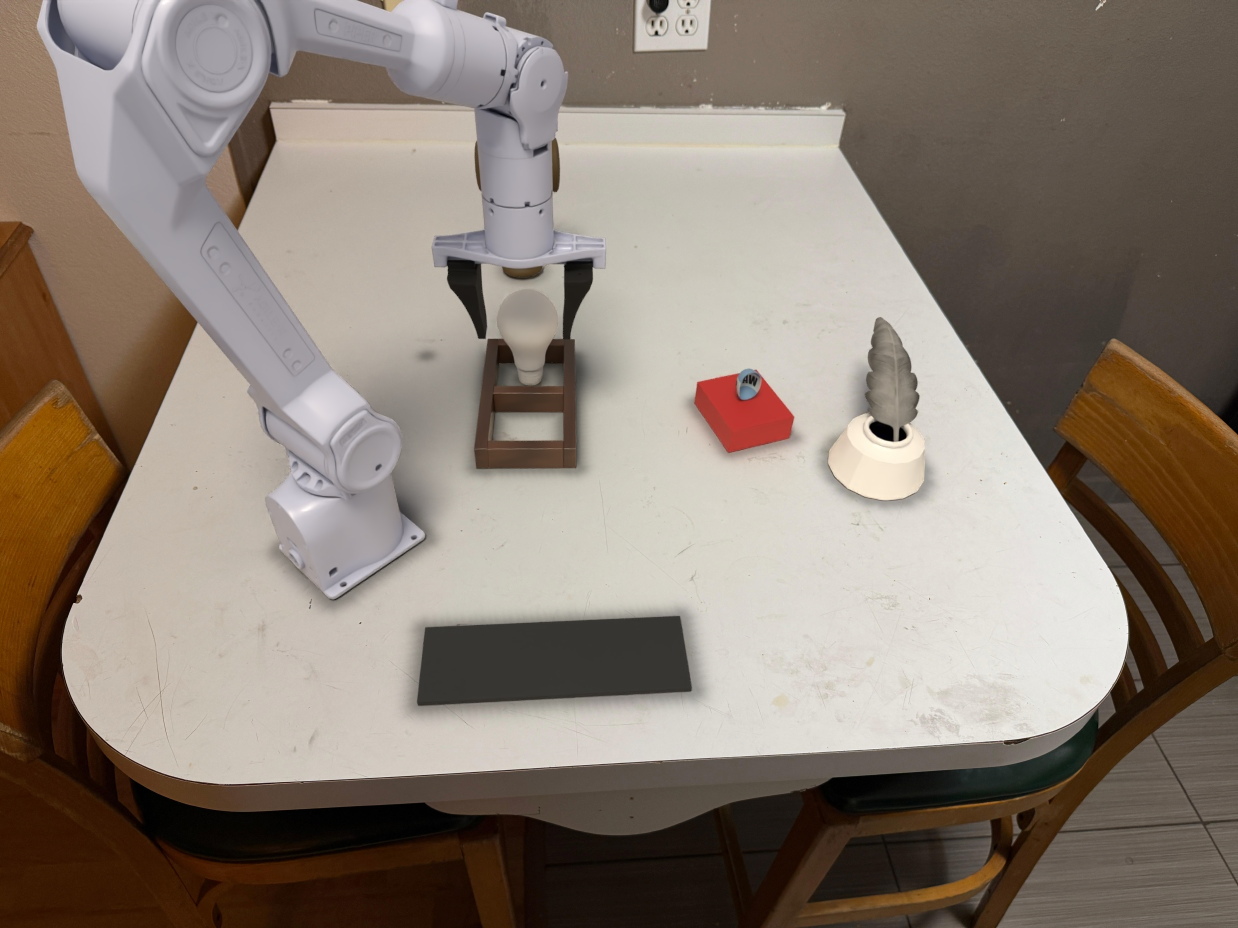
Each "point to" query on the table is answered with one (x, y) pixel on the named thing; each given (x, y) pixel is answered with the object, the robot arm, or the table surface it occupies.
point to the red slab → (743, 410)
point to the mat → (552, 660)
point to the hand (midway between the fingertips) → (524, 333)
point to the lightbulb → (528, 331)
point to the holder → (526, 401)
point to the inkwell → (883, 427)
